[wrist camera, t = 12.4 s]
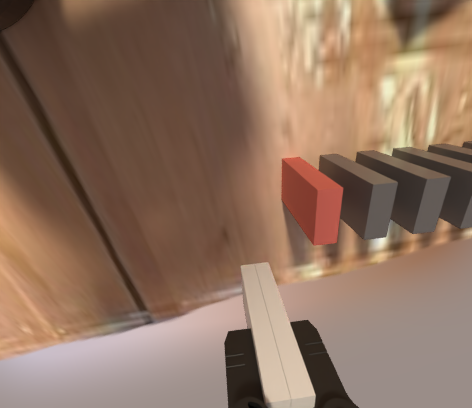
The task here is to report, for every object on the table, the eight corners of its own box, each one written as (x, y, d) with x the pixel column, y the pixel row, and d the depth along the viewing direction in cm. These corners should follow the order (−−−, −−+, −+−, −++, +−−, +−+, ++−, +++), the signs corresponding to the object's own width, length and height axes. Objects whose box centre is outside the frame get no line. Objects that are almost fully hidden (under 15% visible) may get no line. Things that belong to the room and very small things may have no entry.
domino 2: (351, 192, 30) (412, 234, 21) (357, 151, 28) (427, 179, 19) (367, 190, 31) (434, 231, 21) (373, 150, 28) (451, 176, 19)
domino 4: (385, 188, 31) (459, 228, 22) (393, 148, 29) (479, 174, 20) (400, 187, 31) (481, 226, 22) (409, 146, 29) (502, 171, 20)
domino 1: (316, 195, 30) (363, 239, 21) (319, 155, 28) (373, 184, 19) (332, 194, 30) (386, 237, 21) (336, 153, 28) (398, 182, 19)
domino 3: (418, 185, 31) (506, 223, 22) (429, 145, 29) (530, 168, 20) (433, 183, 31) (526, 220, 22) (445, 143, 29) (552, 166, 20)
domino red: (281, 199, 30) (313, 245, 21) (282, 158, 28) (317, 190, 19) (297, 197, 30) (336, 242, 21) (299, 157, 28) (343, 187, 19)
